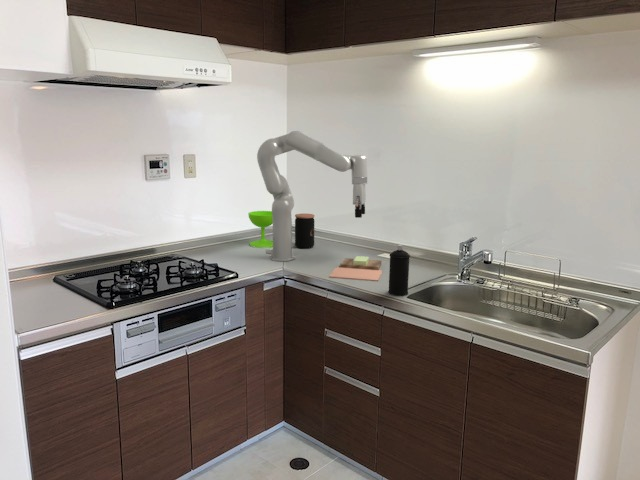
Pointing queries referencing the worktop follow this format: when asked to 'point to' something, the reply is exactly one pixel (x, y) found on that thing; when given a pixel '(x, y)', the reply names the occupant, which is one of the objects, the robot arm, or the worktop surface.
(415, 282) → the worktop surface
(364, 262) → the sponge
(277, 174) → the robot arm
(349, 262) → the plate
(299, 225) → the coffee jar
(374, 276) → the mat
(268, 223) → the wineglass
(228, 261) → the worktop surface
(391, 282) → the aerosol can
